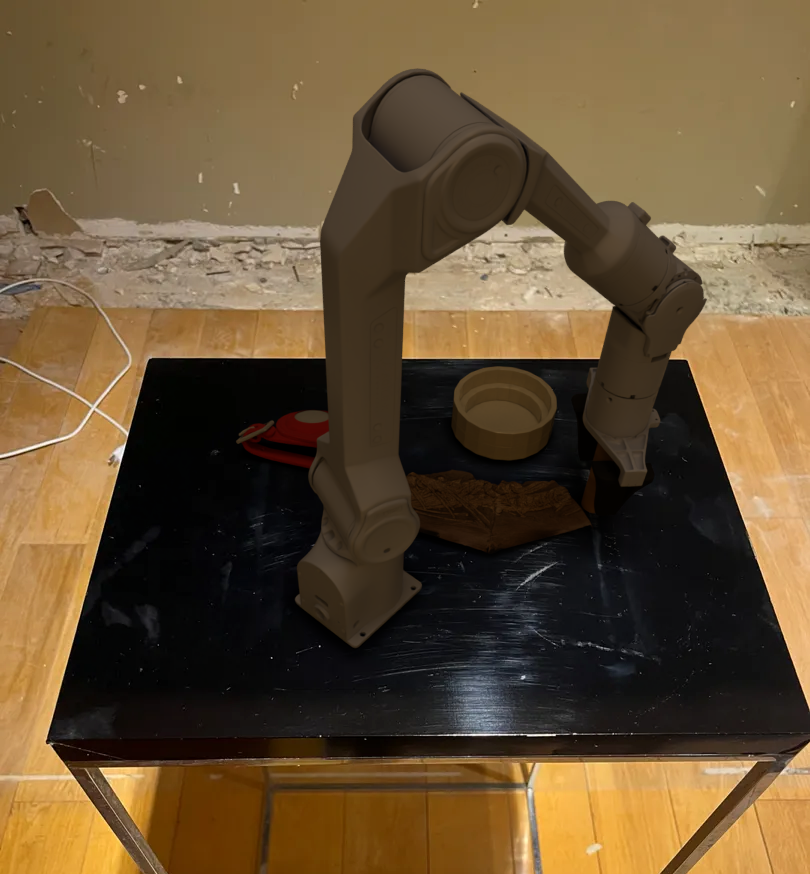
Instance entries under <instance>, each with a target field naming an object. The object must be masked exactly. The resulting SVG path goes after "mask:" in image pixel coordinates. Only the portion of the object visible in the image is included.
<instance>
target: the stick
mask: <svg viewBox="0 0 810 874" xmlns="http://www.w3.org/2000/svg"><path fill="white" fill-rule="evenodd" d="M608 460H612V461H613V459H612V458H611V457H610V456H609V455H608V453H607V452H606V451H605V450H604V449H603V448H602V446H601V445H600V444H599V443H598V444H597V447H596V451H595V455H594V458H593V460H592V461H608ZM595 491H596V481H595V477H594V473H593V470H592V467H591V466H590V469H589V473H588V476H587V479H586V484H585V488H584V490H583V495H582V498H581V502H580V504H581V505H580V506H581V508H582V510H583V511H586V512H588V513H590V514H596V513H595V510H594V498H595Z"/></svg>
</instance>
